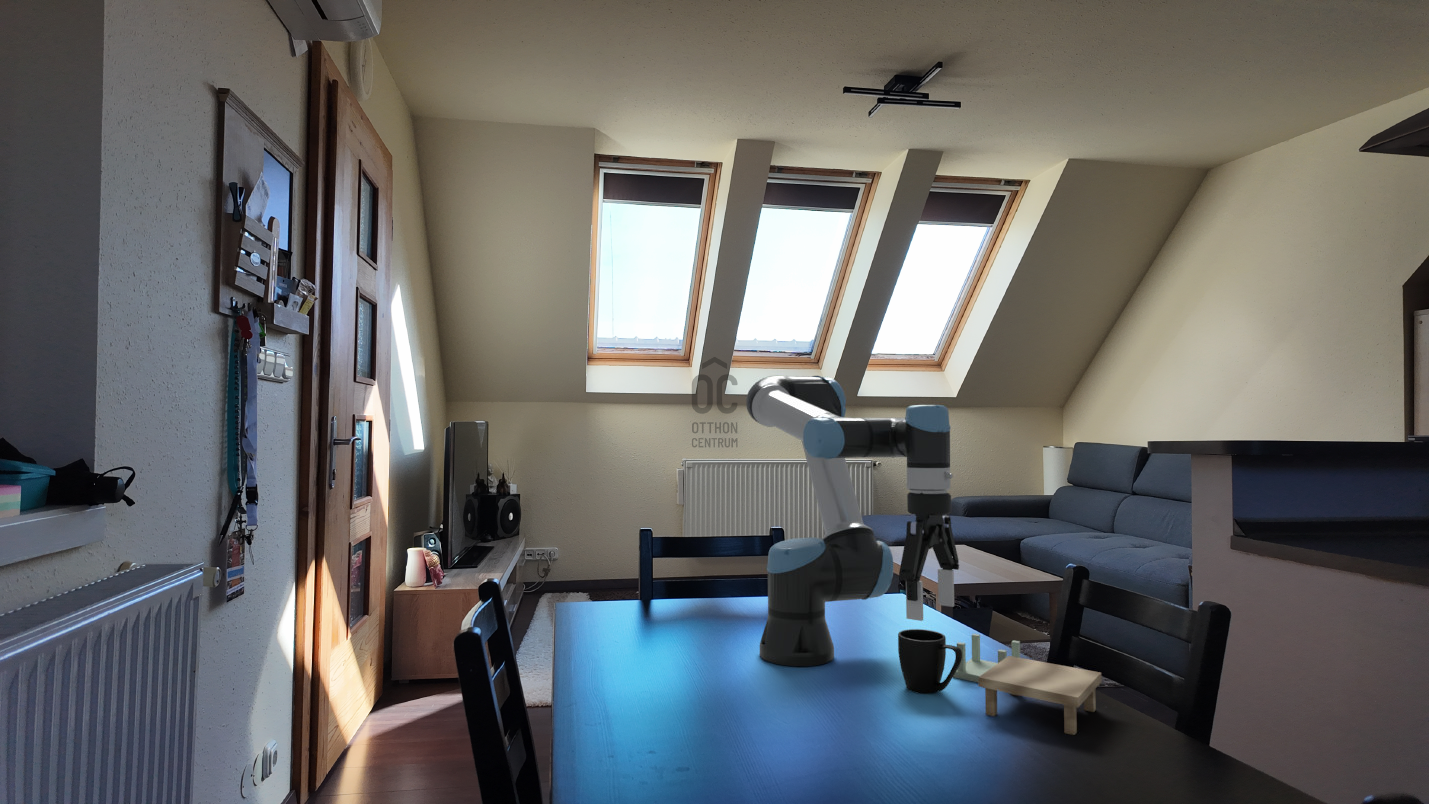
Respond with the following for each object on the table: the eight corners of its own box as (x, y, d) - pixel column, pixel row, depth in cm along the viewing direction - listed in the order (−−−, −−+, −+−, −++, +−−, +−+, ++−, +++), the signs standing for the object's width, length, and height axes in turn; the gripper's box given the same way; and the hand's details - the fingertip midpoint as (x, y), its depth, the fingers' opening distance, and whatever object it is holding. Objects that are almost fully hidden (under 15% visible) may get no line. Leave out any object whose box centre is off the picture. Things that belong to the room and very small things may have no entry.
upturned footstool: (952, 677, 142) (952, 643, 142) (972, 664, 150) (971, 632, 150) (1007, 688, 136) (1006, 653, 136) (1024, 674, 143) (1024, 641, 144)
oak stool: (978, 714, 123) (978, 677, 123) (1009, 689, 135) (1008, 655, 135) (1078, 738, 114) (1077, 697, 114) (1102, 709, 125) (1101, 672, 126)
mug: (944, 706, 127) (944, 648, 127) (888, 687, 136) (888, 633, 137) (974, 696, 132) (973, 640, 132) (918, 678, 141) (917, 626, 142)
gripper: (919, 496, 123) (921, 629, 122) (975, 488, 143) (977, 602, 142) (877, 494, 128) (879, 622, 127) (936, 487, 147) (939, 597, 146)
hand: (931, 612), depth 134 cm, fingers open, 13 cm apart
